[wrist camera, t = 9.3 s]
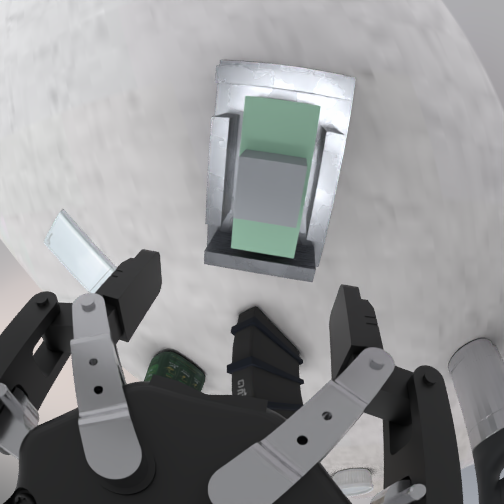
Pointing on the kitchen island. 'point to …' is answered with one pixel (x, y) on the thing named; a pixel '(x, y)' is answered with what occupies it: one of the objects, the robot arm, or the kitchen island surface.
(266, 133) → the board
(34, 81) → the kitchen island surface
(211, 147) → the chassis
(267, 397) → the magazine
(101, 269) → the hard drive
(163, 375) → the coffee jar
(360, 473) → the ramekin
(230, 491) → the robot arm
